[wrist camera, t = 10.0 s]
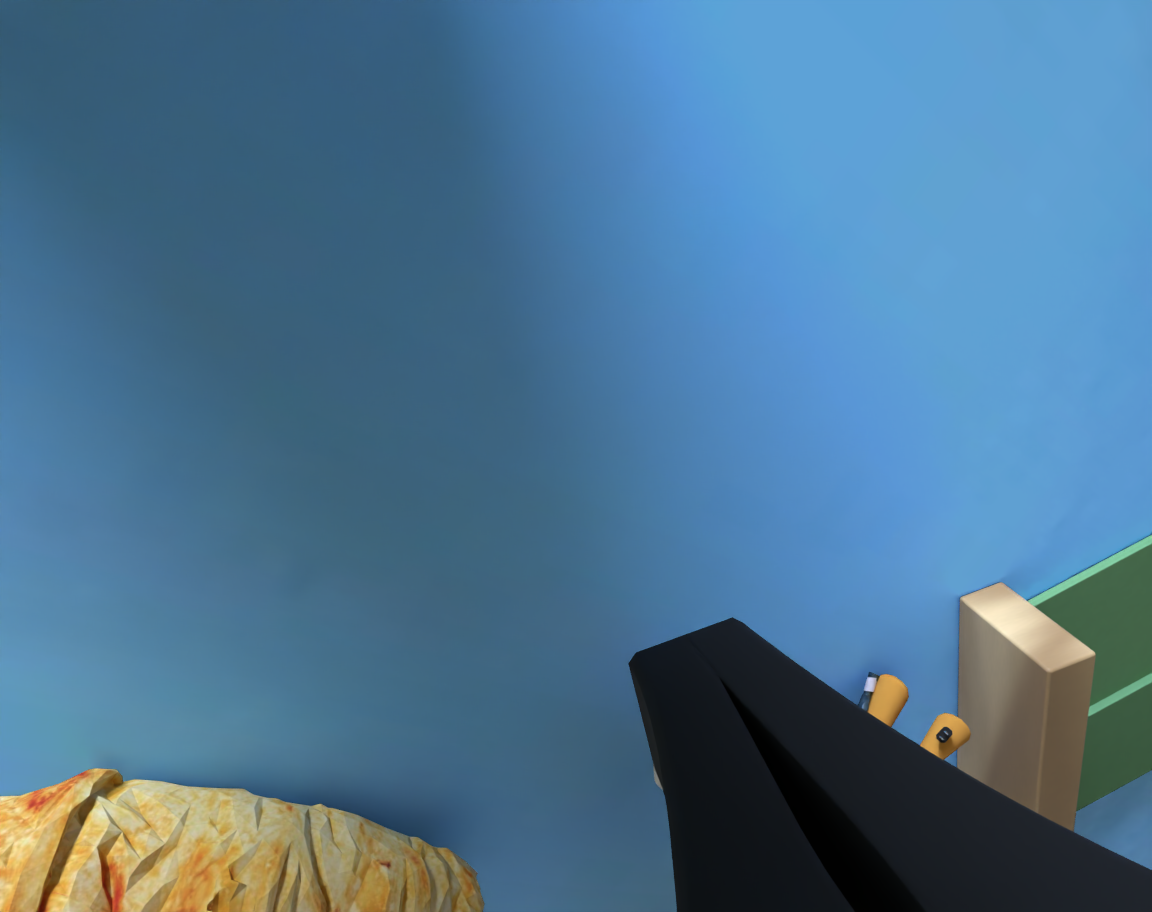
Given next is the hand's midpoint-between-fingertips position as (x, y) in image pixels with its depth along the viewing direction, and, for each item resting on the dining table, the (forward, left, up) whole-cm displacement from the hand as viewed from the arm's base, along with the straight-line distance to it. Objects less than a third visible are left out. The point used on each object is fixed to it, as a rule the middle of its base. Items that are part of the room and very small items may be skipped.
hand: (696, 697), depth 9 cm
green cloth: (-18, +16, -9) cm, 26 cm away
